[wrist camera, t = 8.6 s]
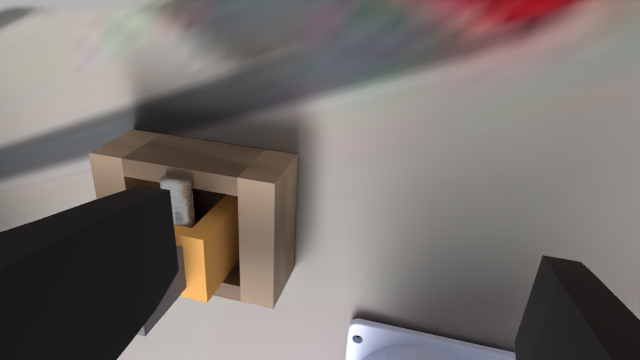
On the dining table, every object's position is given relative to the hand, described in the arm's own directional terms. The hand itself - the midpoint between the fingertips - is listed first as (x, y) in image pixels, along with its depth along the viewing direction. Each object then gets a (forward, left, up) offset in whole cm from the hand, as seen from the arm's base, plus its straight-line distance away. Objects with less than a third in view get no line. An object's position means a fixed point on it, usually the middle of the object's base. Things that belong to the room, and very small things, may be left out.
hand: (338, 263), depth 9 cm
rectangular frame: (-5, +8, -10) cm, 14 cm away
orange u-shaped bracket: (-6, +8, -10) cm, 14 cm away
